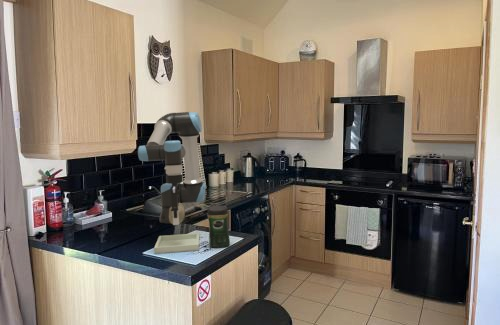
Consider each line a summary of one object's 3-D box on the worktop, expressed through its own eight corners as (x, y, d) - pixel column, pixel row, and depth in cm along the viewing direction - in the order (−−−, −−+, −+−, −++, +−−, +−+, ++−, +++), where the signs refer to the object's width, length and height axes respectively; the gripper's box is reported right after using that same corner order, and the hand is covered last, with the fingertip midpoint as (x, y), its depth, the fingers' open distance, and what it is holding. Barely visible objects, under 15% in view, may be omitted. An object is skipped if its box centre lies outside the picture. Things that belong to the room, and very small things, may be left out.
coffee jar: (229, 242, 182) (228, 203, 180) (229, 247, 174) (228, 207, 173) (209, 243, 181) (207, 204, 180) (208, 248, 174) (206, 208, 172)
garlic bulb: (179, 225, 183) (182, 204, 186) (189, 225, 177) (191, 203, 179) (161, 223, 177) (164, 201, 180) (171, 222, 171) (174, 200, 173)
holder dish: (159, 241, 188) (159, 236, 188) (199, 238, 190) (199, 233, 190) (154, 254, 169) (154, 247, 169) (199, 250, 171) (198, 244, 171)
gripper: (168, 172, 187) (170, 217, 189) (163, 177, 165) (166, 228, 167) (183, 171, 188) (186, 216, 190) (181, 176, 166) (183, 227, 168)
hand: (176, 222), depth 179 cm, fingers closed on garlic bulb, 9 cm apart
